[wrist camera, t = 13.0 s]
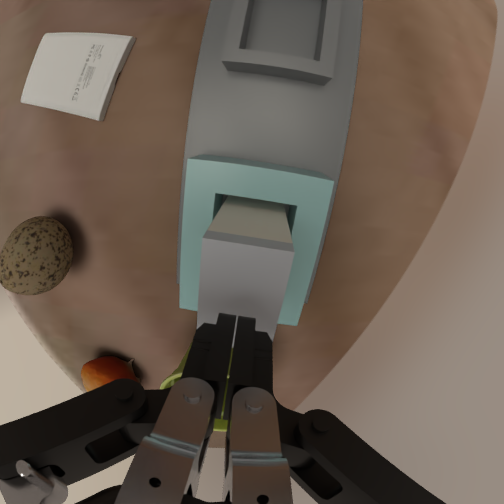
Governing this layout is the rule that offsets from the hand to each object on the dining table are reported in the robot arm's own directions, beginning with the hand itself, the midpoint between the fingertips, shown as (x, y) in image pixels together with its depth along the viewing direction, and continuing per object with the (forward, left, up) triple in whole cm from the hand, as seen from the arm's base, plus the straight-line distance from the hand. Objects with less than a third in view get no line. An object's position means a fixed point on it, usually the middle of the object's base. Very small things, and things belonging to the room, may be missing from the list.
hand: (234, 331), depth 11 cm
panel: (-8, 0, -13) cm, 15 cm away
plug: (0, 0, -12) cm, 12 cm away
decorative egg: (+4, -20, -13) cm, 24 cm away
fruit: (+22, -15, -13) cm, 30 cm away
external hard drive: (-14, -19, -14) cm, 27 cm away
